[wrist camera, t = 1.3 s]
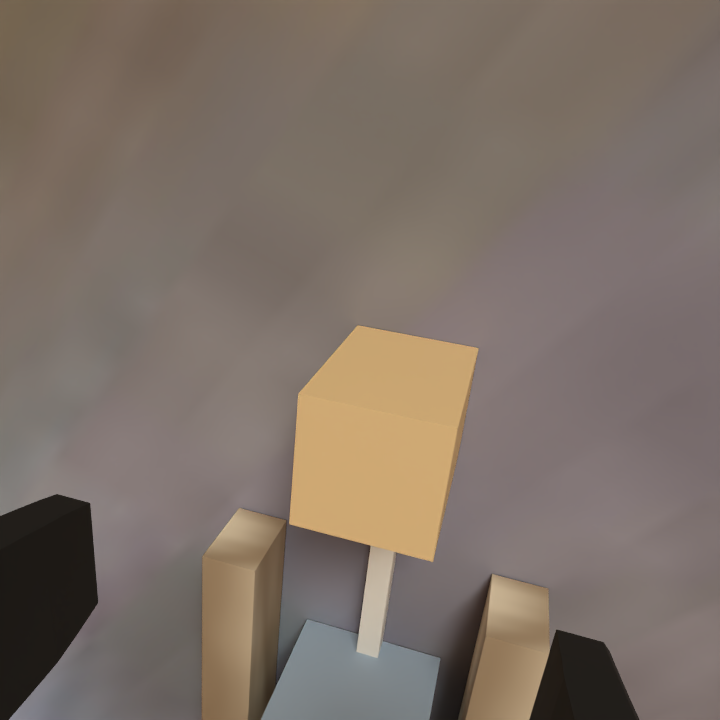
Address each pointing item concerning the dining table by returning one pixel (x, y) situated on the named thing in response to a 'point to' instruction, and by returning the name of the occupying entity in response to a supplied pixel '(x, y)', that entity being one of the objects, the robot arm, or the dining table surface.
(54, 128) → the dining table surface
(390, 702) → the tethered block
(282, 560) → the lane
